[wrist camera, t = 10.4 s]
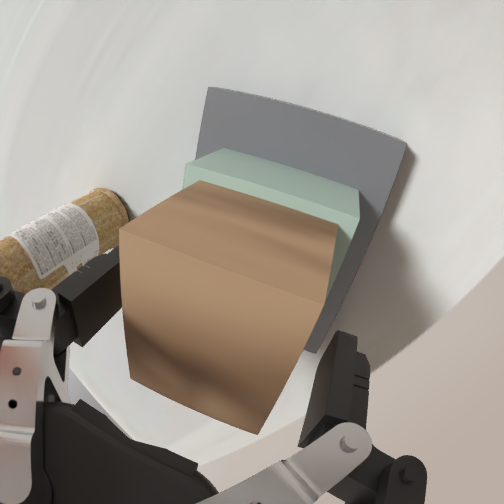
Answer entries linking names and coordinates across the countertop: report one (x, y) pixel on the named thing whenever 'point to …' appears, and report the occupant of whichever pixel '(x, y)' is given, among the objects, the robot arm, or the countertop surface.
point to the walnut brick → (222, 298)
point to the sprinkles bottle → (62, 241)
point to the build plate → (314, 155)
